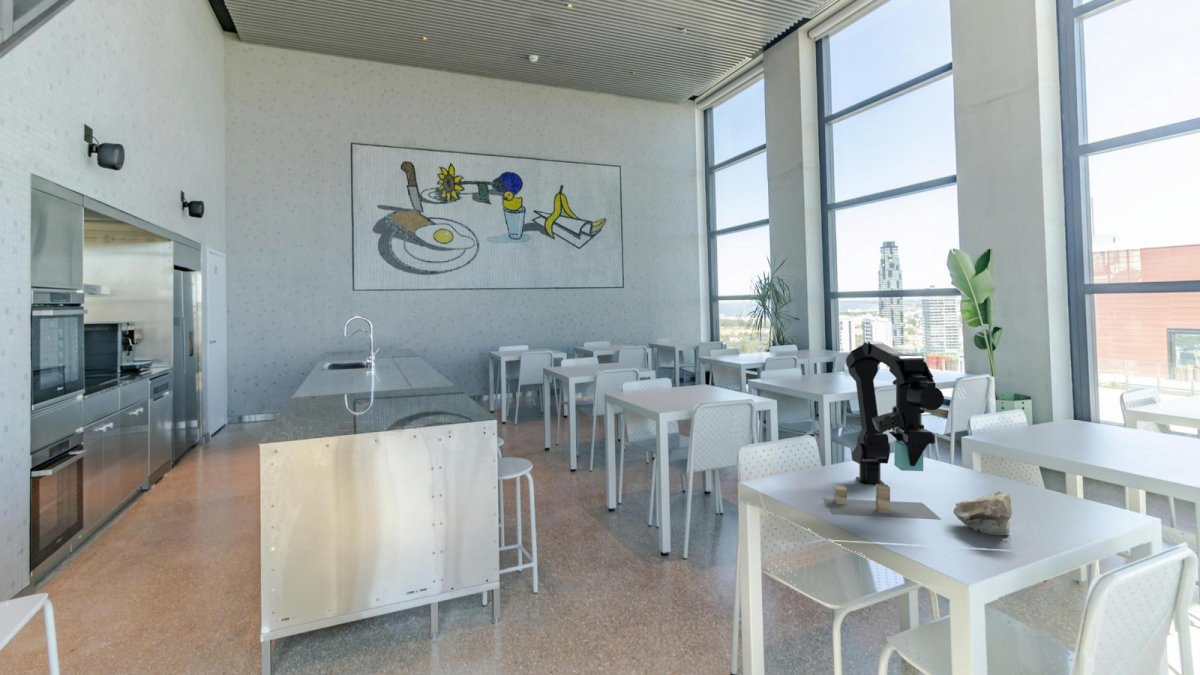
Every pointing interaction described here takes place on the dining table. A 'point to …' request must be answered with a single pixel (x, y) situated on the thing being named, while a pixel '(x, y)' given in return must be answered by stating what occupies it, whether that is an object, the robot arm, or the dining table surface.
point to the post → (882, 498)
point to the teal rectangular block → (905, 458)
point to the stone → (986, 513)
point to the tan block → (840, 495)
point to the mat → (870, 510)
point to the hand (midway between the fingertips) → (908, 463)
